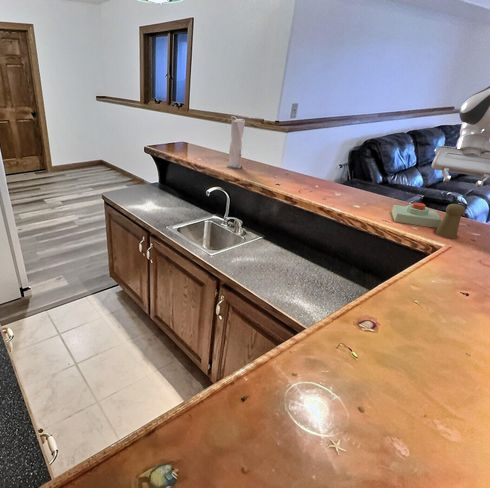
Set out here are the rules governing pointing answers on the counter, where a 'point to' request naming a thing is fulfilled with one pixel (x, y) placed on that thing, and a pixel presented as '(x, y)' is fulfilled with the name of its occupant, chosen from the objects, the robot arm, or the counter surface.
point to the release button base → (416, 216)
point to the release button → (418, 206)
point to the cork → (451, 221)
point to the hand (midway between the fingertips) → (462, 183)
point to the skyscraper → (236, 143)
